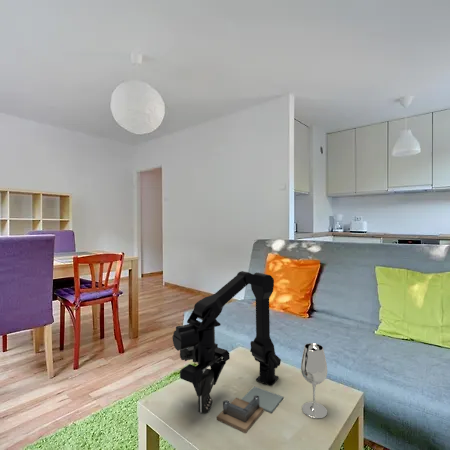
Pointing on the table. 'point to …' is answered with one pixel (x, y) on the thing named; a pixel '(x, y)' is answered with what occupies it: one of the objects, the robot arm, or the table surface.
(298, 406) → the table surface
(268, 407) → the end mat
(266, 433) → the table surface
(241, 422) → the rail board
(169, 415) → the table surface
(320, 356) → the wineglass
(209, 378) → the battery charger
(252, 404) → the bent rail
